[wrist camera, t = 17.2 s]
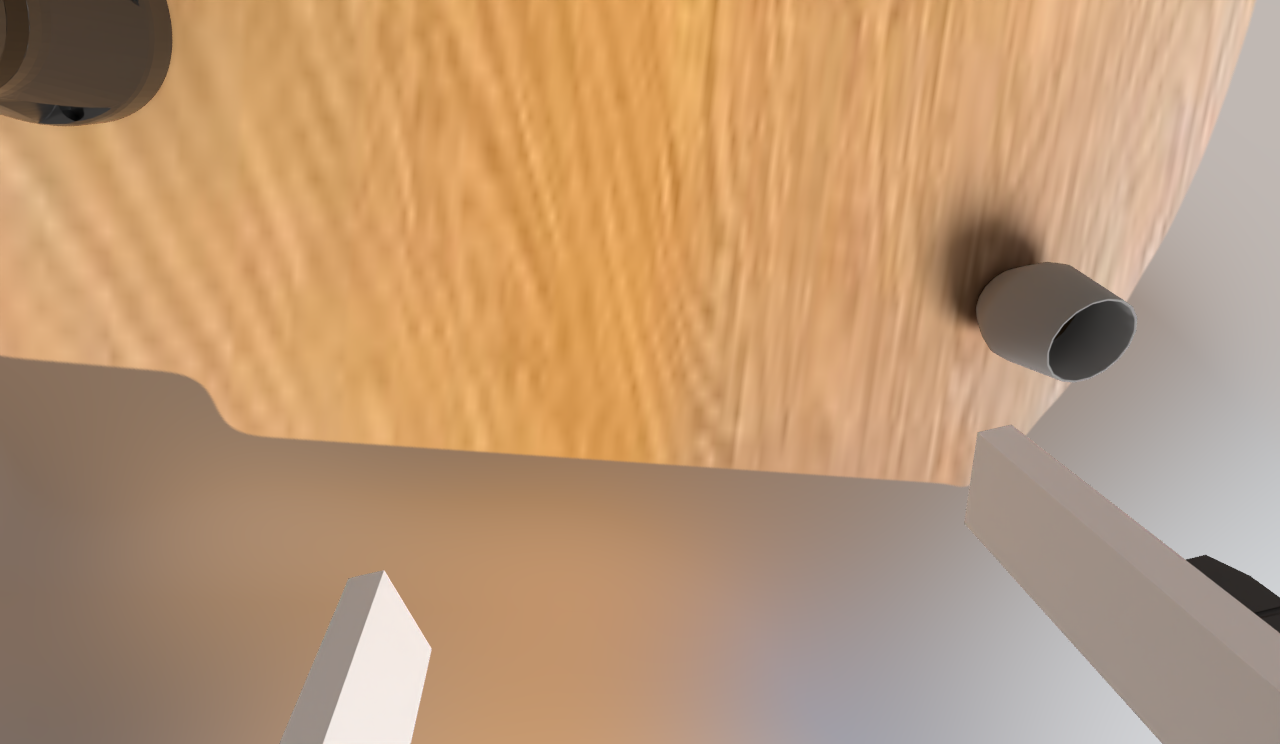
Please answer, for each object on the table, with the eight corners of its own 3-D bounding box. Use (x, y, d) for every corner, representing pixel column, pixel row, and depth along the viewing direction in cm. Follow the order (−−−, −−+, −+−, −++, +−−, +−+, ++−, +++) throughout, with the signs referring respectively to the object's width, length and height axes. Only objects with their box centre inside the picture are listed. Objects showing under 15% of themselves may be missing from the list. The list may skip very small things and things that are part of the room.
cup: (954, 274, 52) (1034, 315, 43) (1051, 234, 51) (1153, 267, 42) (962, 356, 56) (1036, 408, 47) (1052, 320, 55) (1143, 366, 47)
